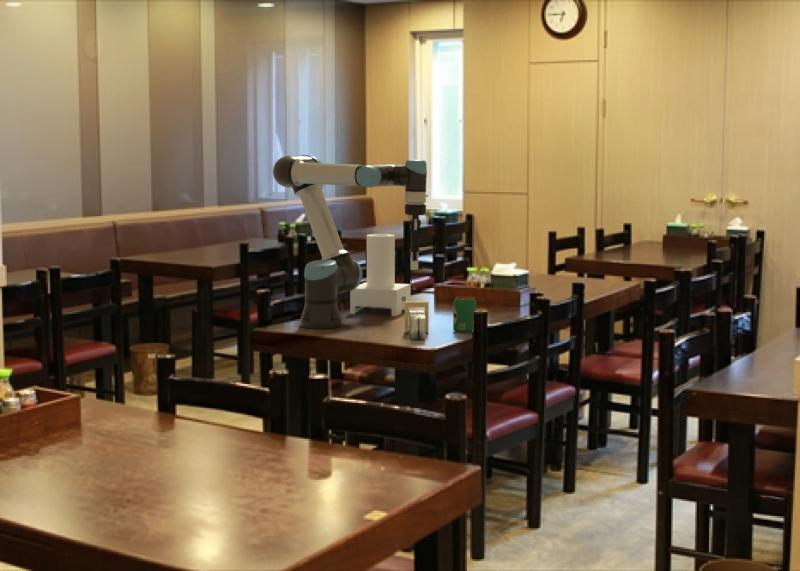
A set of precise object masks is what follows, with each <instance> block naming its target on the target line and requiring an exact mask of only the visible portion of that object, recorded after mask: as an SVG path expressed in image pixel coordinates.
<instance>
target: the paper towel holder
mask: <svg viewBox="0 0 800 571" xmlns="http://www.w3.org/2000/svg"><path fill="white" fill-rule="evenodd" d="M395 237H396V235H395V234H391V233H390V234H389V233H383V234H382V233H376V234H375V233H374V234H372V233H370V234H367V235H366V282H362V283H360V284H359V286H358V287H357V288H356V289H354V290H351V291H349V292H350V294H349V296H350V297H349V299H350V301H349V305H350V307H349V308H350V310H349V311H350V315H355V314H356V312H357V307H360V310H362V309H364V308H390V309H391V316H392V317H397V316H399V315H401V314H402V302H405V301H411V298H412V297H411V284H410V283H395V282H396V280H395V276H396V275H395V274H396V273H395V272H396V268H395V264H396V260H395V259H396V255H395V253H396V252H395V251H396V250H395V246H396V244H395V243H396V242H395V241H396V240H395V239H396V238H395ZM409 310H411V307H408V311H409Z"/></svg>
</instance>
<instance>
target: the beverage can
mask: <svg viewBox="0 0 800 571" xmlns="http://www.w3.org/2000/svg"><path fill="white" fill-rule="evenodd" d="M452 306H453V309H452V310H453V311H452V316H453V317H452V319H453V321H452V322H453V323H452V328H453V329H452V330H453V331H454V333H456V334H472V330H473V312H474V311H476V312H477V301H476V299H475V297H473V296H456V297H454V300H453V303H452Z"/></svg>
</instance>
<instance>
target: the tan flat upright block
mask: <svg viewBox="0 0 800 571" xmlns="http://www.w3.org/2000/svg"><path fill="white" fill-rule="evenodd" d="M408 307H410V308H424V315H425V318H426V333H429V301H428V300H425V301H424V300H423V301H422V300H415V301H414V300H413V301H404V333H409V310H408Z"/></svg>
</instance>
